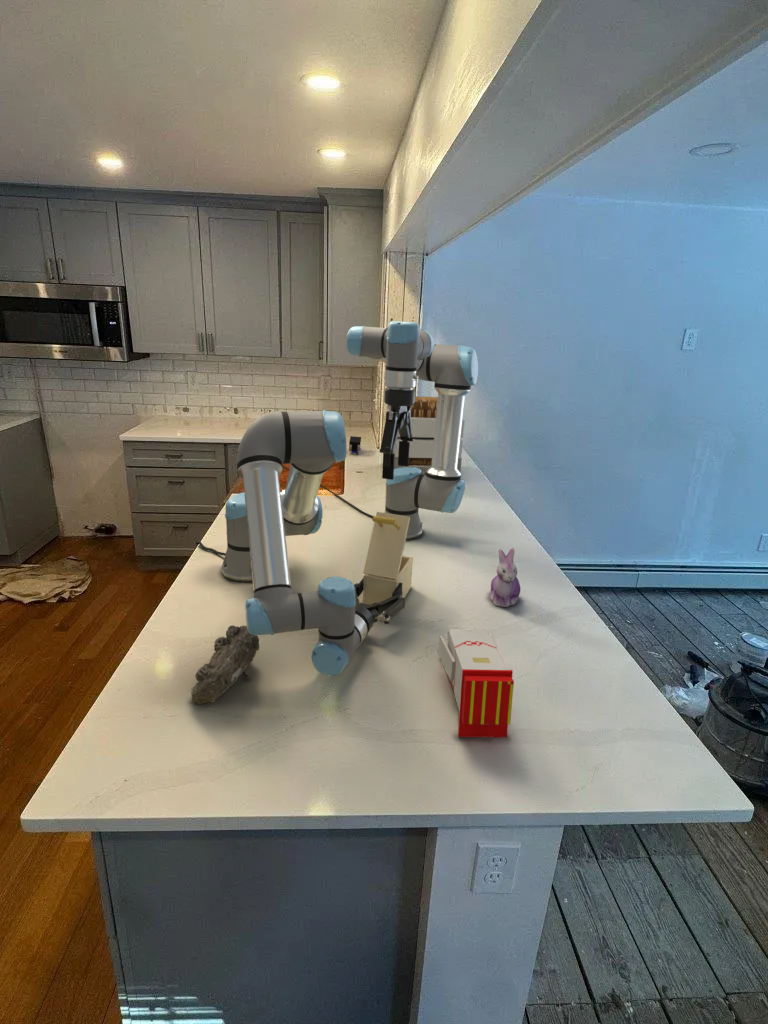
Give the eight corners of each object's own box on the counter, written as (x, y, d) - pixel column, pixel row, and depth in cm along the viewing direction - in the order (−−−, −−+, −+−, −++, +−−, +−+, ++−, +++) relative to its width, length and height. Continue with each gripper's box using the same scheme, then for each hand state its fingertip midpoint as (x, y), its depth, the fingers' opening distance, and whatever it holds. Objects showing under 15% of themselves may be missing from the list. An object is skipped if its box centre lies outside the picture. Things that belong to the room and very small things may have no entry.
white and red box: (488, 613, 130) (523, 677, 101) (484, 667, 133) (517, 744, 104) (435, 612, 130) (455, 676, 101) (432, 666, 133) (451, 743, 103)
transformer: (382, 463, 289) (386, 382, 275) (445, 464, 293) (451, 384, 279) (390, 482, 257) (394, 392, 243) (460, 483, 261) (468, 394, 247)
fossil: (211, 627, 129) (258, 597, 124) (240, 656, 132) (287, 627, 127) (170, 698, 110) (224, 665, 105) (204, 729, 113) (259, 699, 108)
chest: (381, 581, 164) (382, 552, 161) (411, 587, 162) (412, 557, 158) (362, 607, 150) (363, 575, 147) (394, 613, 148) (396, 581, 144)
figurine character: (360, 458, 303) (361, 448, 316) (361, 444, 299) (361, 435, 313) (348, 457, 302) (349, 447, 316) (348, 444, 299) (349, 434, 312)
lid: (377, 512, 151) (369, 503, 143) (410, 517, 148) (403, 508, 140) (364, 573, 147) (355, 567, 139) (397, 579, 145) (389, 574, 137)
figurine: (502, 611, 151) (509, 560, 146) (479, 594, 159) (485, 545, 154) (530, 604, 155) (537, 554, 150) (506, 588, 163) (512, 540, 158)
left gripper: (309, 631, 133) (344, 589, 154) (397, 650, 127) (422, 604, 148) (309, 602, 131) (345, 564, 151) (399, 621, 125) (424, 578, 145)
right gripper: (400, 395, 126) (395, 486, 133) (427, 383, 148) (421, 462, 156) (368, 393, 128) (365, 482, 135) (399, 381, 150) (395, 459, 158)
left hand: (383, 584), depth 149 cm, fingers closed on chest, 9 cm apart
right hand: (395, 472), depth 145 cm, fingers open, 13 cm apart
